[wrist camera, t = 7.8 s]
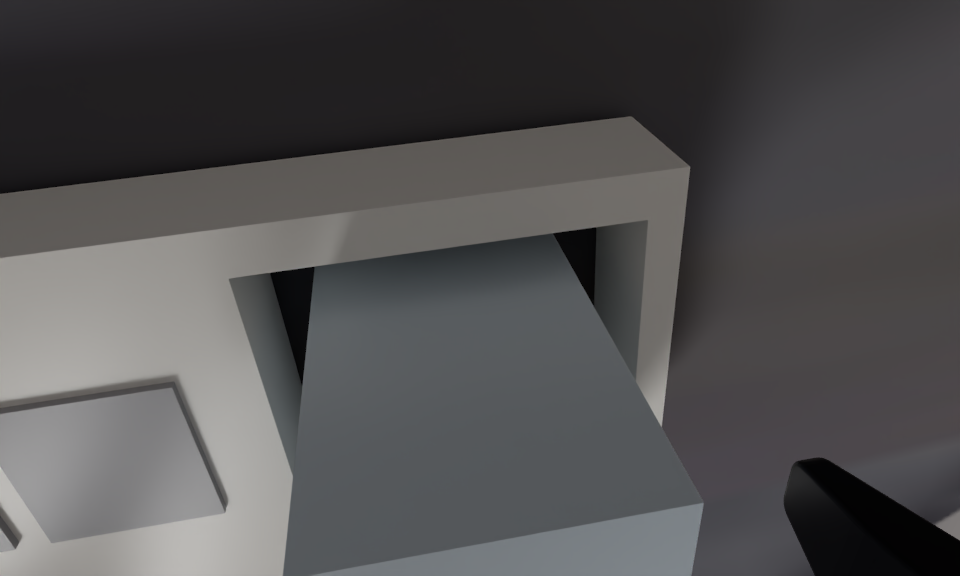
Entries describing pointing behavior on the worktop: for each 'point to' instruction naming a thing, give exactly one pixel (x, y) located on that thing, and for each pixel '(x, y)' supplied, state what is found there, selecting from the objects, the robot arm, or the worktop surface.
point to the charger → (477, 427)
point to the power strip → (264, 325)
